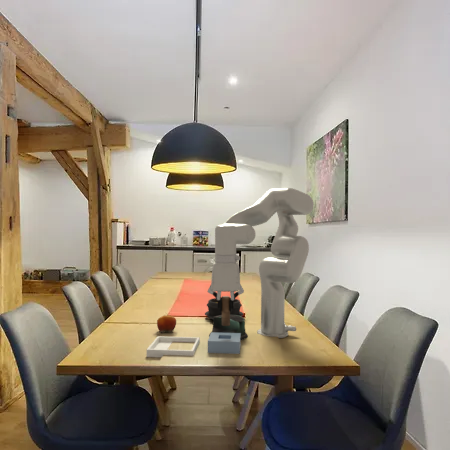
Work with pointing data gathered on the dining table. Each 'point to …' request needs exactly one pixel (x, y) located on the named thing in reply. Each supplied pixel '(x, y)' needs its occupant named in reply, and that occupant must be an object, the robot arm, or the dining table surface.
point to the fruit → (166, 323)
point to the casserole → (216, 312)
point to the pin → (225, 311)
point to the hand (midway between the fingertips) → (225, 310)
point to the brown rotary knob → (235, 325)
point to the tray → (163, 343)
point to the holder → (224, 343)
